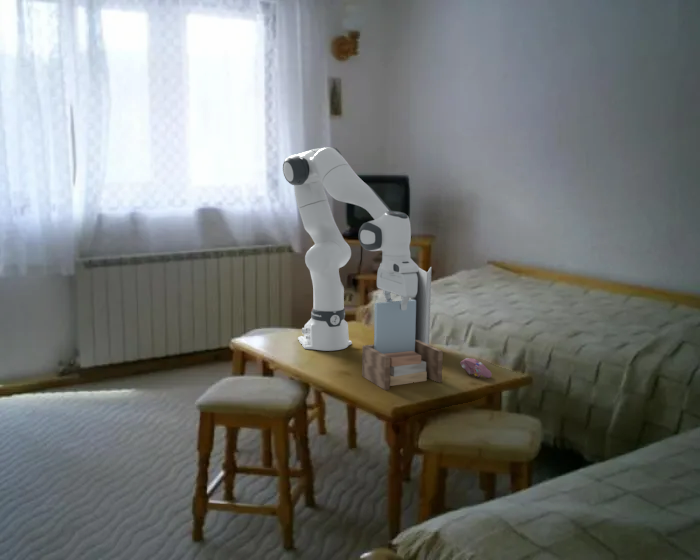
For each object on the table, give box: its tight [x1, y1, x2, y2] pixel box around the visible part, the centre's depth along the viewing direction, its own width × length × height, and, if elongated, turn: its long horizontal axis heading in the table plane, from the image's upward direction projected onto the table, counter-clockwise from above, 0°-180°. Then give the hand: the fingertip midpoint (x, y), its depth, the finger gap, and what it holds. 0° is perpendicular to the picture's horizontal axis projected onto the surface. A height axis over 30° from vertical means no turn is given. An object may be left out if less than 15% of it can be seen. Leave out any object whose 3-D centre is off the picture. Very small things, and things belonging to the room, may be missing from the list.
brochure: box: [410, 266, 432, 345], centre depth 260 cm, size 14×6×30 cm, turn 168°
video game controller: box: [459, 357, 493, 379], centre depth 234 cm, size 10×5×7 cm, turn 35°
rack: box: [361, 340, 444, 391], centre depth 229 cm, size 15×20×10 cm
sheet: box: [373, 299, 416, 354], centre depth 232 cm, size 2×14×24 cm, turn 115°
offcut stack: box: [385, 351, 428, 387], centre depth 228 cm, size 7×13×8 cm, turn 116°
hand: (395, 307), depth 230 cm, fingers open, 8 cm apart
